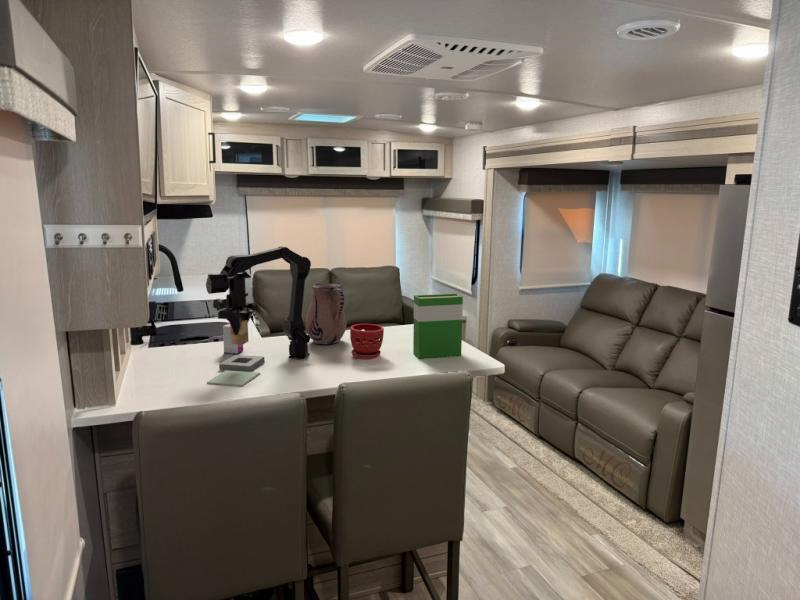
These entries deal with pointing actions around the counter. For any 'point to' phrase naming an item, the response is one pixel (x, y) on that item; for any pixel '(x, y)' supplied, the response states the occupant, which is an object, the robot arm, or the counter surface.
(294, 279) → the robot arm
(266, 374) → the counter surface
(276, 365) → the counter surface
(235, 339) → the oak block
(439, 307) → the hardback book
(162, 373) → the counter surface
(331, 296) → the ceramic pitcher
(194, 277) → the counter surface
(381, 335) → the plant pot
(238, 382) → the rubber mat
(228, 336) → the supplement box
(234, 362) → the charcoal holder
